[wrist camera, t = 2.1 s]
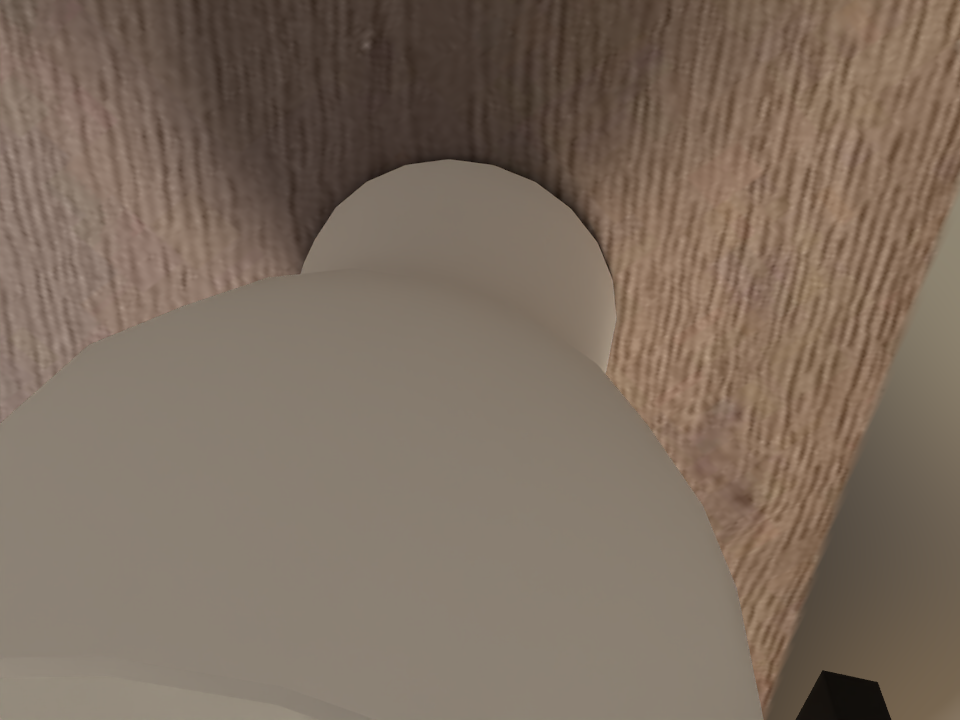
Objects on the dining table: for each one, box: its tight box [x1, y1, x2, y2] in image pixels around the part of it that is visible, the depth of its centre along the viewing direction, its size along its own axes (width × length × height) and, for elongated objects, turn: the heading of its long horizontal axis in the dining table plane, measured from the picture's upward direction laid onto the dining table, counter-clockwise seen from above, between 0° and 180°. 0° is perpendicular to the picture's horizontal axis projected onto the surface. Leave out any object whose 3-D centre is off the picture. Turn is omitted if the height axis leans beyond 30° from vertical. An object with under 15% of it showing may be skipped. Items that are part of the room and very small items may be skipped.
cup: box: [0, 159, 763, 720], centre depth 14 cm, size 11×11×15 cm
